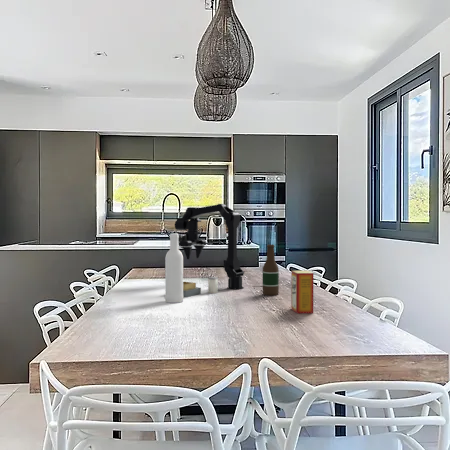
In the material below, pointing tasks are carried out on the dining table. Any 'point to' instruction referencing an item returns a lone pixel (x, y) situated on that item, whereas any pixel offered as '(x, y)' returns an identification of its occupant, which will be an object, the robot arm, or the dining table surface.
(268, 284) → the beer bottle
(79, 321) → the dining table surface
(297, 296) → the baking soda box
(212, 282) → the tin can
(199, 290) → the gearbox
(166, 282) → the bottle
